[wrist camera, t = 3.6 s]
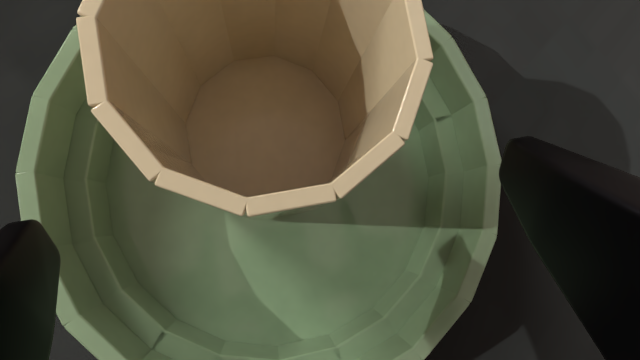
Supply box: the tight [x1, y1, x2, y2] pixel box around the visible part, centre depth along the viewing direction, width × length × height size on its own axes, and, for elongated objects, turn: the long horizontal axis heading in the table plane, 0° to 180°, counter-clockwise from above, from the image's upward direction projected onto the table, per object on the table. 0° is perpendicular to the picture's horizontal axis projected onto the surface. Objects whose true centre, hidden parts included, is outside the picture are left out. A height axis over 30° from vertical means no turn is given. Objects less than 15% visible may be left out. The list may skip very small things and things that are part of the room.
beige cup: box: [76, 0, 433, 221], centre depth 13 cm, size 7×7×10 cm
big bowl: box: [15, 9, 502, 360], centre depth 16 cm, size 16×16×4 cm
